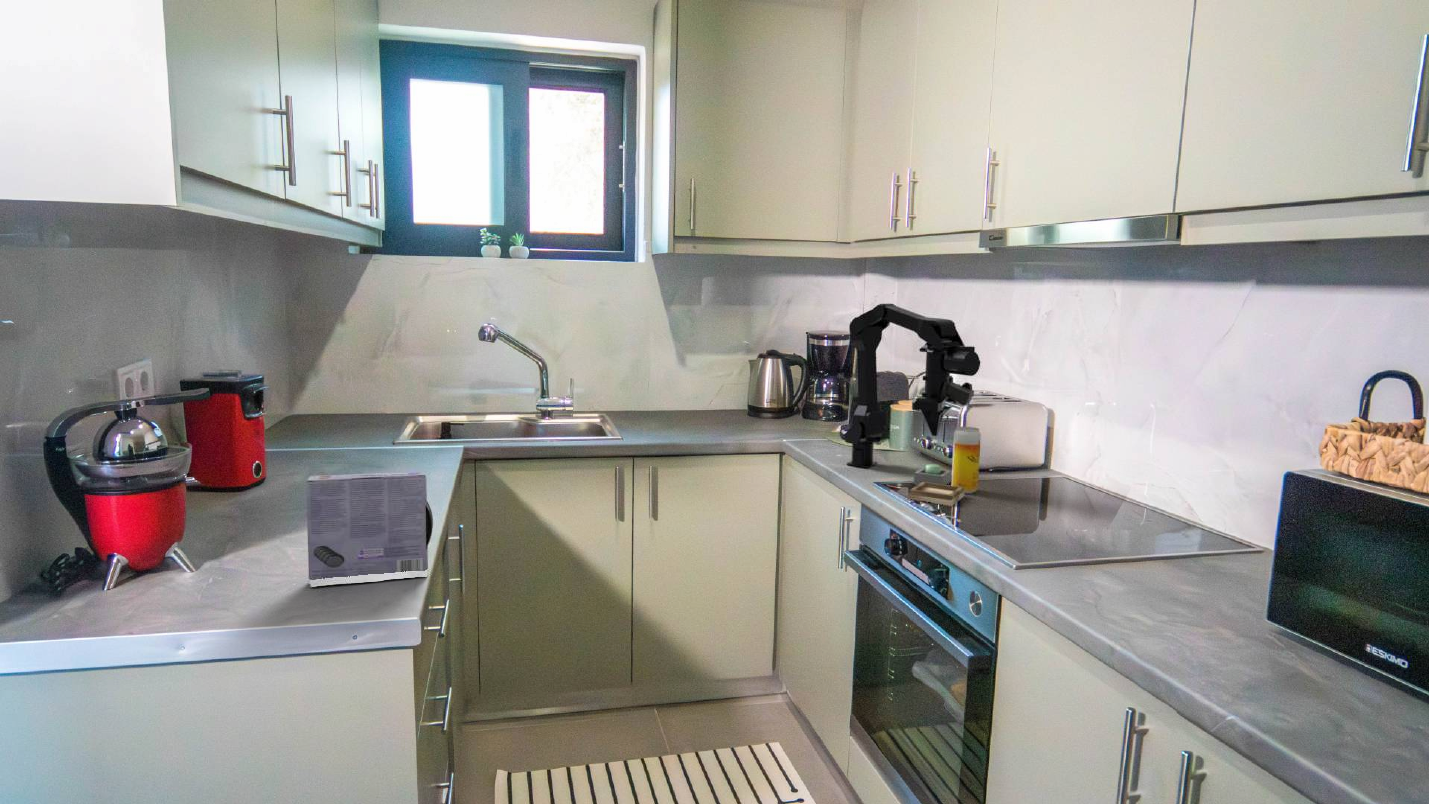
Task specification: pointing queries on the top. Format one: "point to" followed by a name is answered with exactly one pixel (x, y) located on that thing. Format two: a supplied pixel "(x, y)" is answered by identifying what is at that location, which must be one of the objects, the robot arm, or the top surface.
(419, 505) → the cake pan box
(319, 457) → the top surface
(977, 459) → the beer can
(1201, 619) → the top surface
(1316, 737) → the top surface
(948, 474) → the button console
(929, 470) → the button
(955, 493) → the shallow wooden tray
